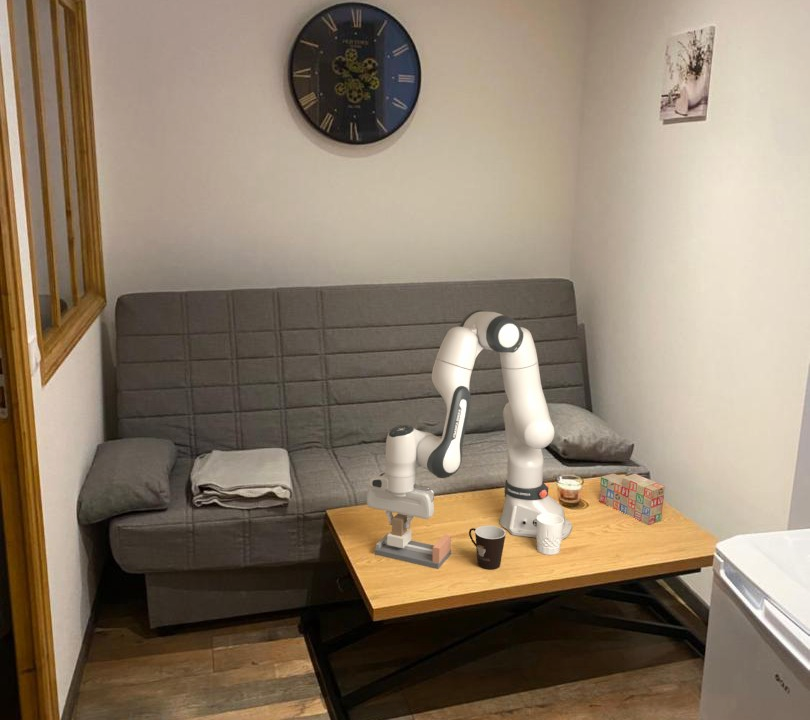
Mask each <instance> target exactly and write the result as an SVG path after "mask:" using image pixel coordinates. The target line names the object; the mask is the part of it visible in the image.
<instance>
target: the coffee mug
mask: <svg viewBox="0 0 810 720" xmlns="http://www.w3.org/2000/svg"><path fill="white" fill-rule="evenodd" d="M472 531H473V532H474V535H475V536H474V537H475V540H474V538H473V536H472ZM468 535H469V539H470V540H471V542H472V543H473V545H474V546H475V547H476V549H475V550H476V558H477V559H476V560H477V566H478V567H480V569H483V570H487V571H495V570H497V569H500V566H501V562H502V557H503V553H504V551H503V550H504V546H505V540H506V535H507V534H506V530H505V528H502V527H500V526H496V525H491V524H490V525H481V526H478V527H476V528H474V527H472V528H470V529H469V530H468Z"/></svg>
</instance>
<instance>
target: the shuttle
mask: <svg viewBox="0 0 810 720" xmlns="http://www.w3.org/2000/svg"><path fill="white" fill-rule="evenodd" d="M407 520H408V518H407V515H404V514H399V513H396V515H394V516H393V518H392V525H391V531H390V532H389V534H388V535H387V545H390V546H395V547H399V548H404V547H405V546H406V545H407V544H408V543H409V542H410V541H412V530H411V529H407V528H403V526H404V525H403V523H404V522H405V521H407Z"/></svg>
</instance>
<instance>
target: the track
mask: <svg viewBox="0 0 810 720" xmlns="http://www.w3.org/2000/svg"><path fill="white" fill-rule="evenodd" d="M389 533H390V532H389ZM389 533H386V534H385V535H384V536H383V537H382V538H381V539H380V540H379V541H378V542H376V544H375V548H374V550H373V552H374V553H373V555H377V556H380V557H383V558H389V559H393V560H397V561H402V562H407V563H411V564H414V565H418V566H419V565H420V566H424V567H427V568H432V569H437V570H439V569H440V567H442V565H443V564H444V563H446V561H447V559H448V558H449V557H450V556H451V555H452V549H451V547H452V539H451V538H452V535H449V534H443V536H442V537H440V539H439V540H438V541H437V542H436V543H435V544H434V545H433V544H429V543H424V542H421V541H415V540H411V541H410V542H409V543H408V544H407V545H406V546H405V547H404V548H399V547H395V546H390V545H387V535H388V534H389Z"/></svg>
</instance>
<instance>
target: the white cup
mask: <svg viewBox="0 0 810 720" xmlns="http://www.w3.org/2000/svg"><path fill="white" fill-rule="evenodd" d="M563 524H564V519H563V518H562V517H561V516H559V515H556V514H552V513H544V514H540V515H538V516H537V530H536V537H537V538H536V550H537V552H539V553H540V554H542V555H545V556H547V555H548V556H554V555H558V554H559V553H560V551H561V543H562V540H563V539H562V533H563Z"/></svg>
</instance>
